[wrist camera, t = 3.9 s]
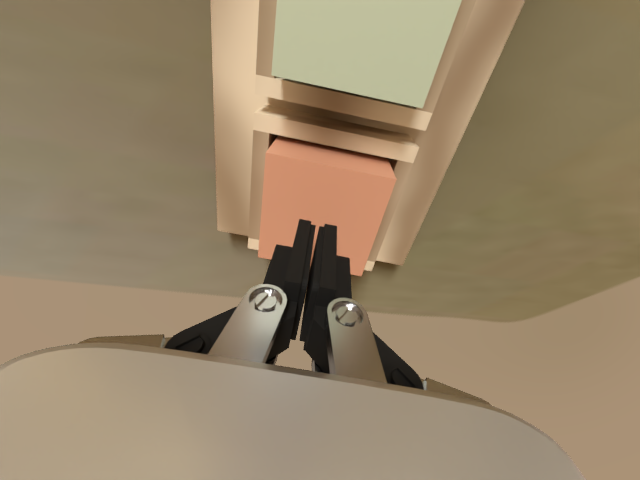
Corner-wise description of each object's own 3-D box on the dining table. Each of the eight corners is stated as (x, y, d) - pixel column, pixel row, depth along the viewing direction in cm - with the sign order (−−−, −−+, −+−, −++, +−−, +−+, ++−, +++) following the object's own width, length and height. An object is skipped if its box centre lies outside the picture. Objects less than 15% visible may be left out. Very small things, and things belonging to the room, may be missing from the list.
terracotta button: (387, 158, 15) (396, 179, 13) (358, 246, 18) (361, 276, 16) (278, 135, 15) (265, 152, 12) (269, 228, 18) (257, 257, 16)
